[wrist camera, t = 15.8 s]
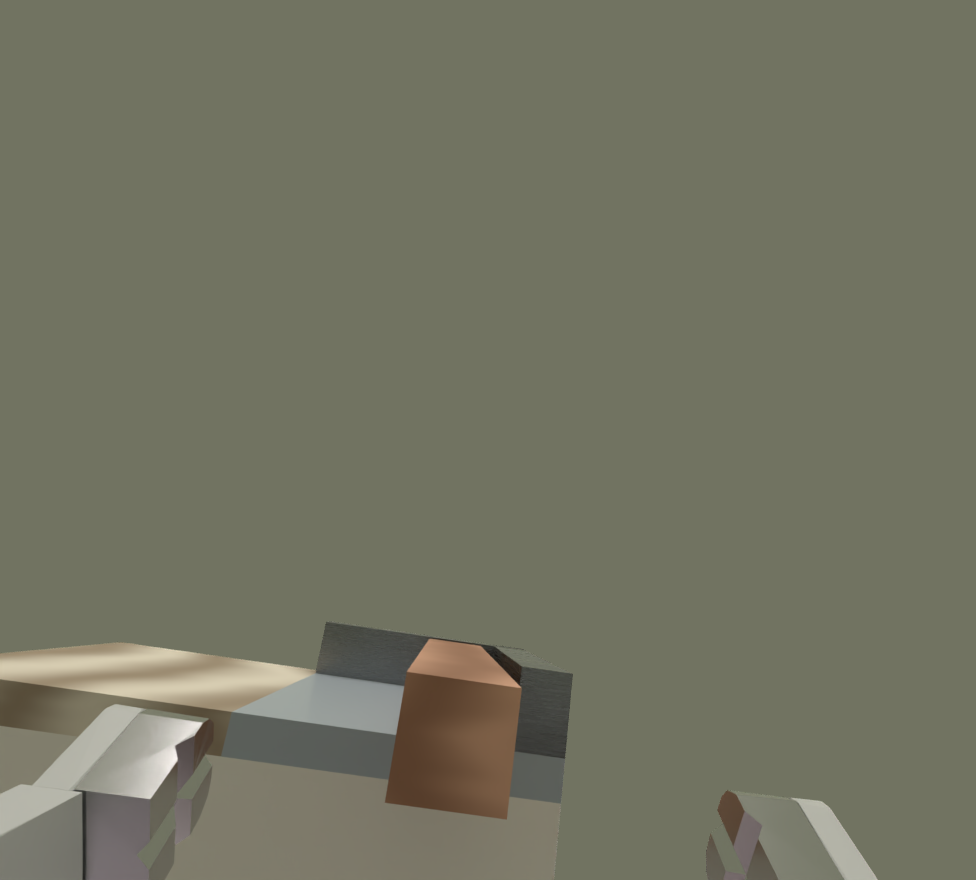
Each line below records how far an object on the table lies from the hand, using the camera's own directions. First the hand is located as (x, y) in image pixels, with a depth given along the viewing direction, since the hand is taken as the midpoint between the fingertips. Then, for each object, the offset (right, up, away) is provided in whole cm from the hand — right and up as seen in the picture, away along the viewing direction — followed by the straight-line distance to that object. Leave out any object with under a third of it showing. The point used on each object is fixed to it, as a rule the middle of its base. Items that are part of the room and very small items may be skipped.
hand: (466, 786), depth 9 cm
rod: (-1, -6, +15) cm, 16 cm away
